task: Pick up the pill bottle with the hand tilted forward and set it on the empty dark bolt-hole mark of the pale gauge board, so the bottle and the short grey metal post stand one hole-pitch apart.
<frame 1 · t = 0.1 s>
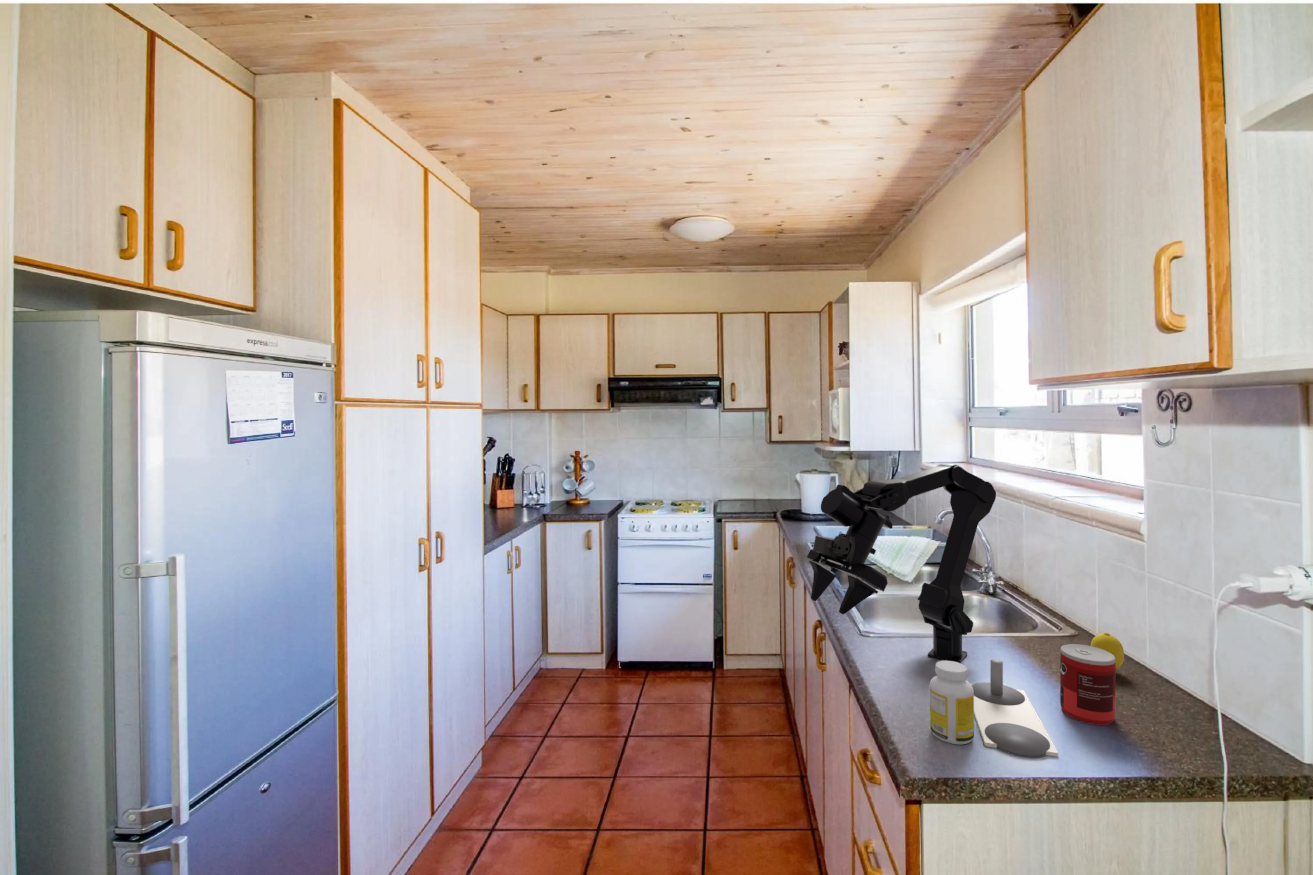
hand: (826, 606, 119), 15 cm above the countertop, tool tilted 35°, fingers open, 9 cm apart
gauge board: (1005, 717, 104), on the countertop
canned food: (1086, 715, 105), on the countertop
lemon: (1106, 672, 121), on the countertop
pill bottle: (951, 736, 99), on the countertop
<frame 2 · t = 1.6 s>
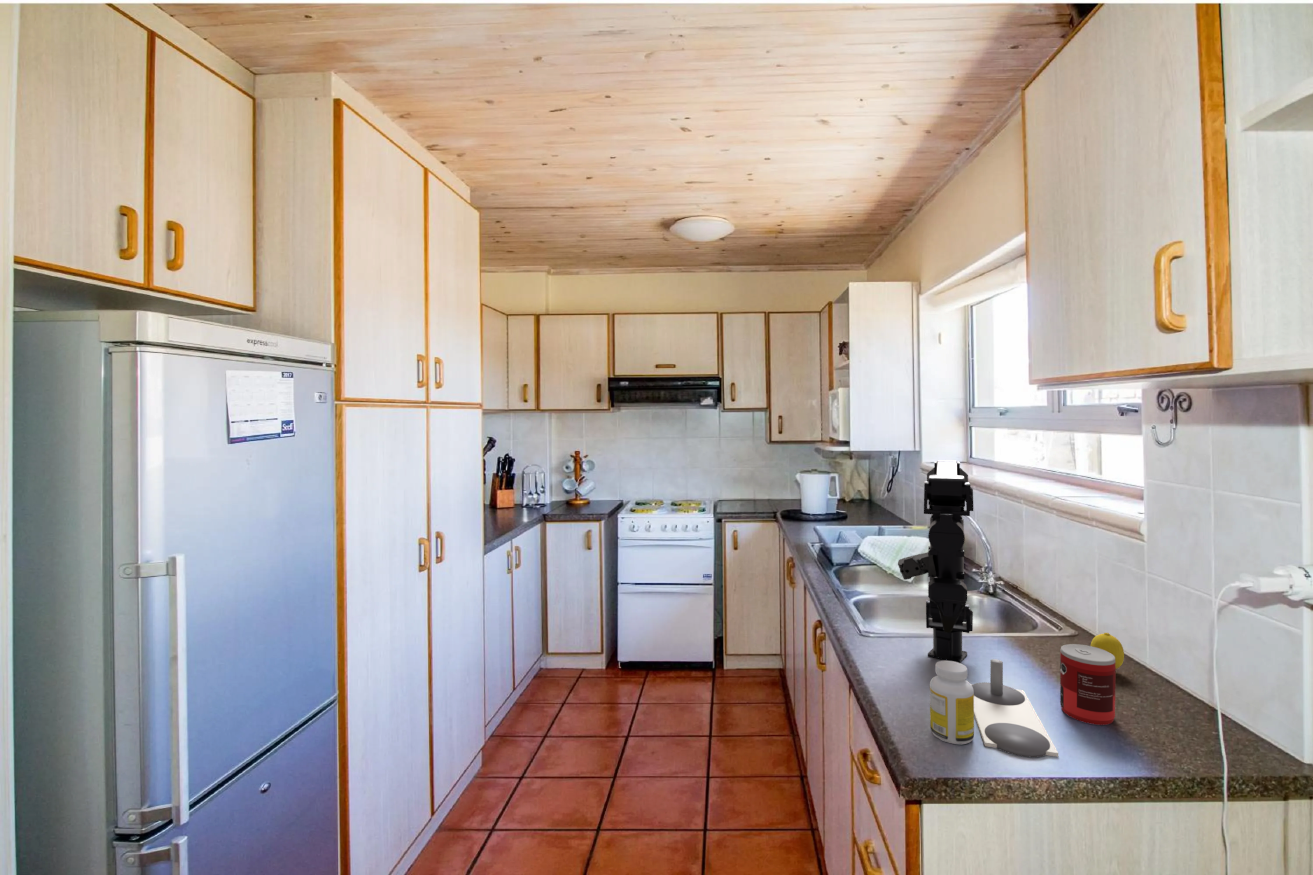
hand: (946, 624, 113), 13 cm above the countertop, tool pointing down, fingers open, 9 cm apart
nothing on the countertop moved.
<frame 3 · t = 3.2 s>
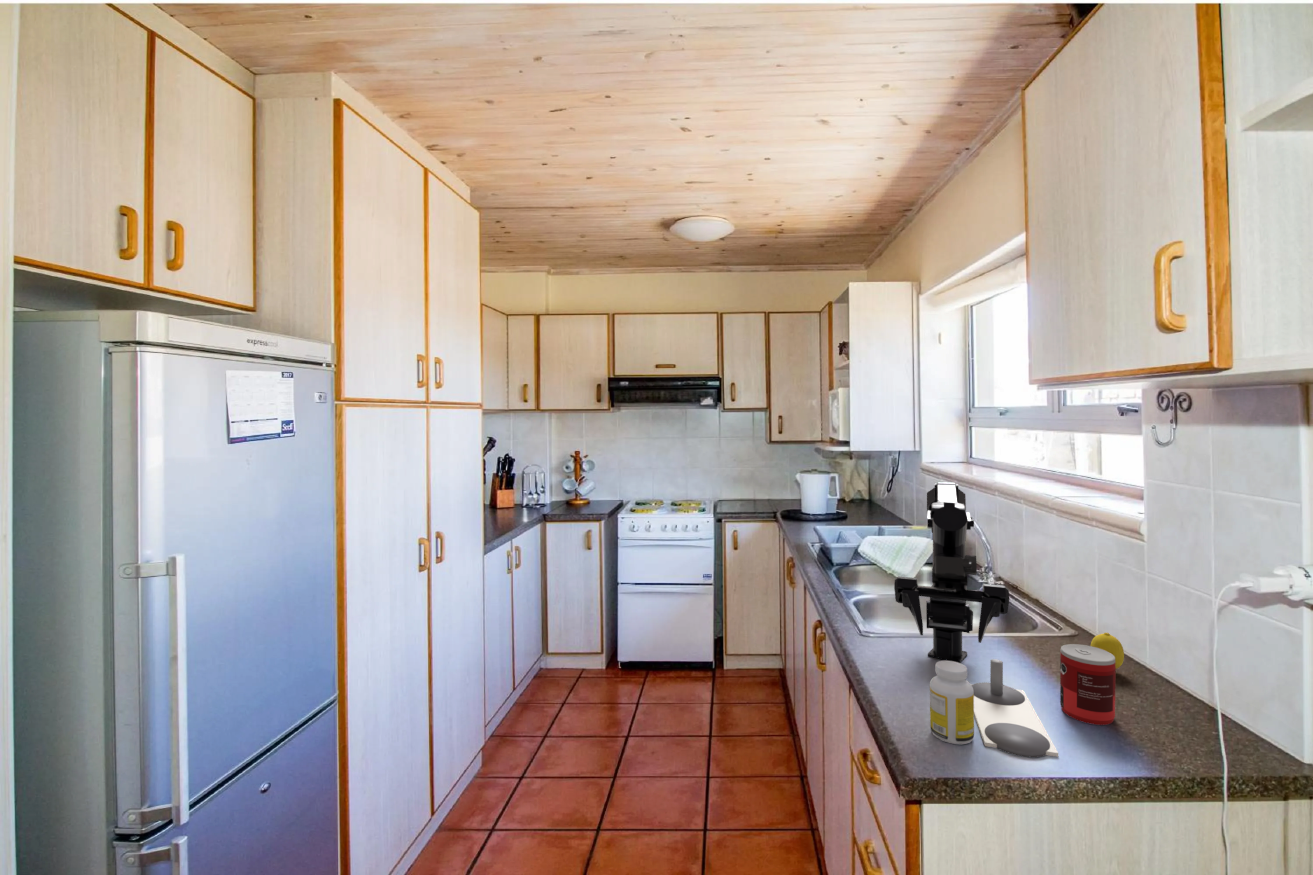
hand: (950, 637, 105), 13 cm above the countertop, tool tilted 45°, fingers open, 9 cm apart
nothing on the countertop moved.
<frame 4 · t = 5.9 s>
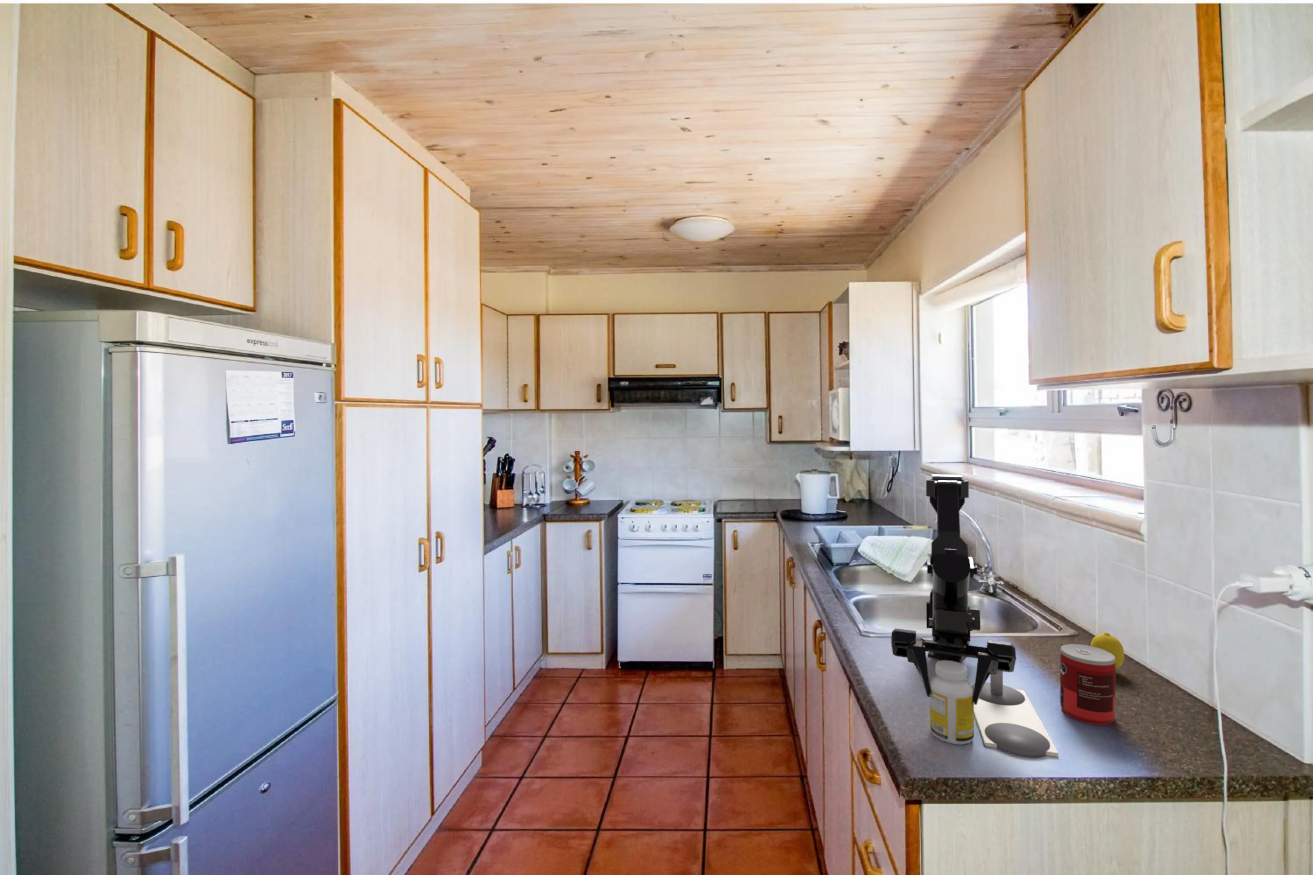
hand: (951, 699, 97), 7 cm above the countertop, tool tilted 45°, fingers closed on pill bottle, 6 cm apart
pill bottle: (951, 736, 99), on the countertop, touching gripper
everything else where it was.
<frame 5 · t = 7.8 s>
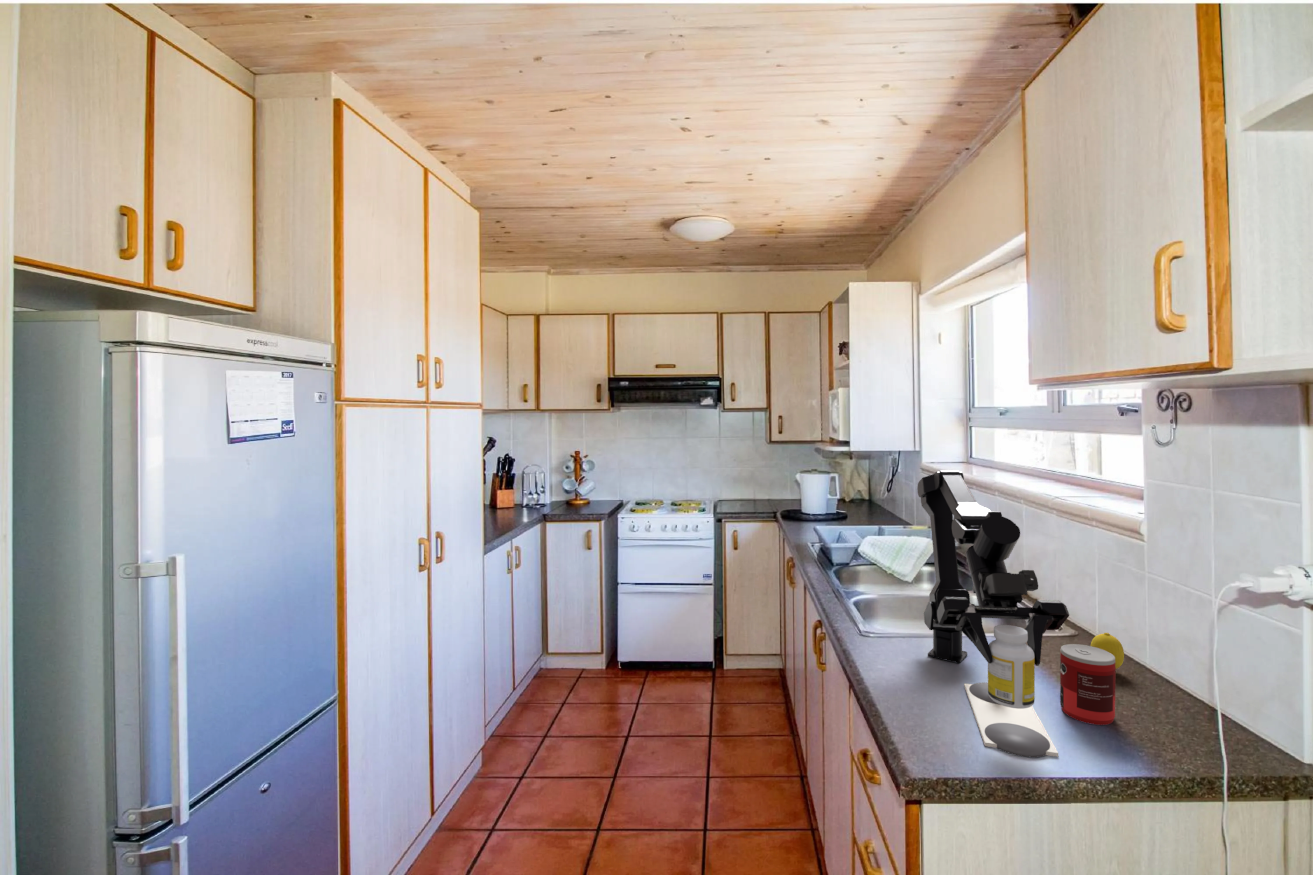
hand: (1014, 663, 95), 13 cm above the countertop, tool tilted 45°, fingers closed on pill bottle, 6 cm apart
pill bottle: (1010, 701, 96), point 6 cm above the countertop, touching gripper
everything else where it was.
when the fingers open (8 cm above the countertop, at t = 9.7 s): pill bottle stays where it is, resting on gauge board.
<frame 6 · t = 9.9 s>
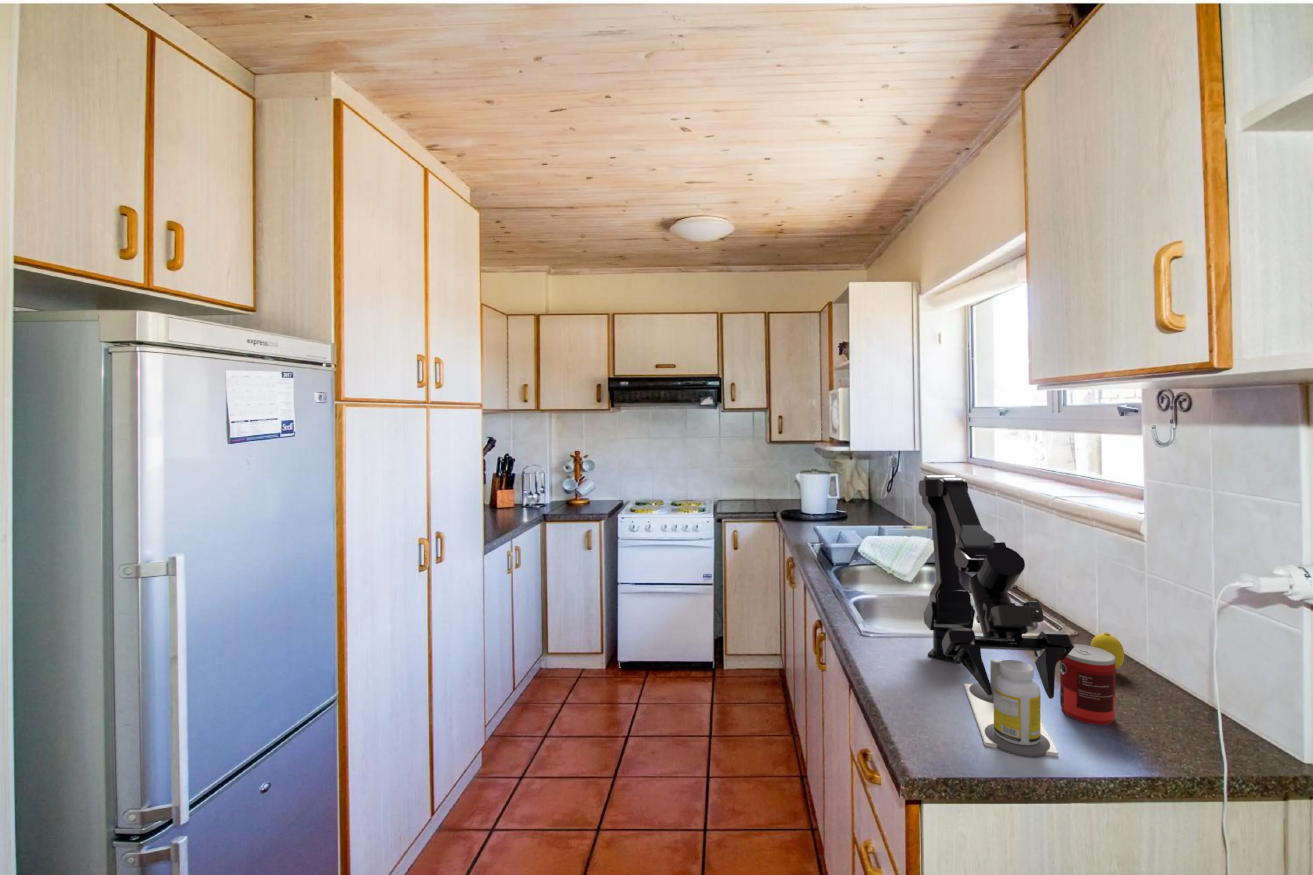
hand: (1020, 696, 95), 8 cm above the countertop, tool tilted 45°, fingers open, 9 cm apart
pill bottle: (1016, 737, 97), point 1 cm above the countertop, touching gauge board
everything else where it was.
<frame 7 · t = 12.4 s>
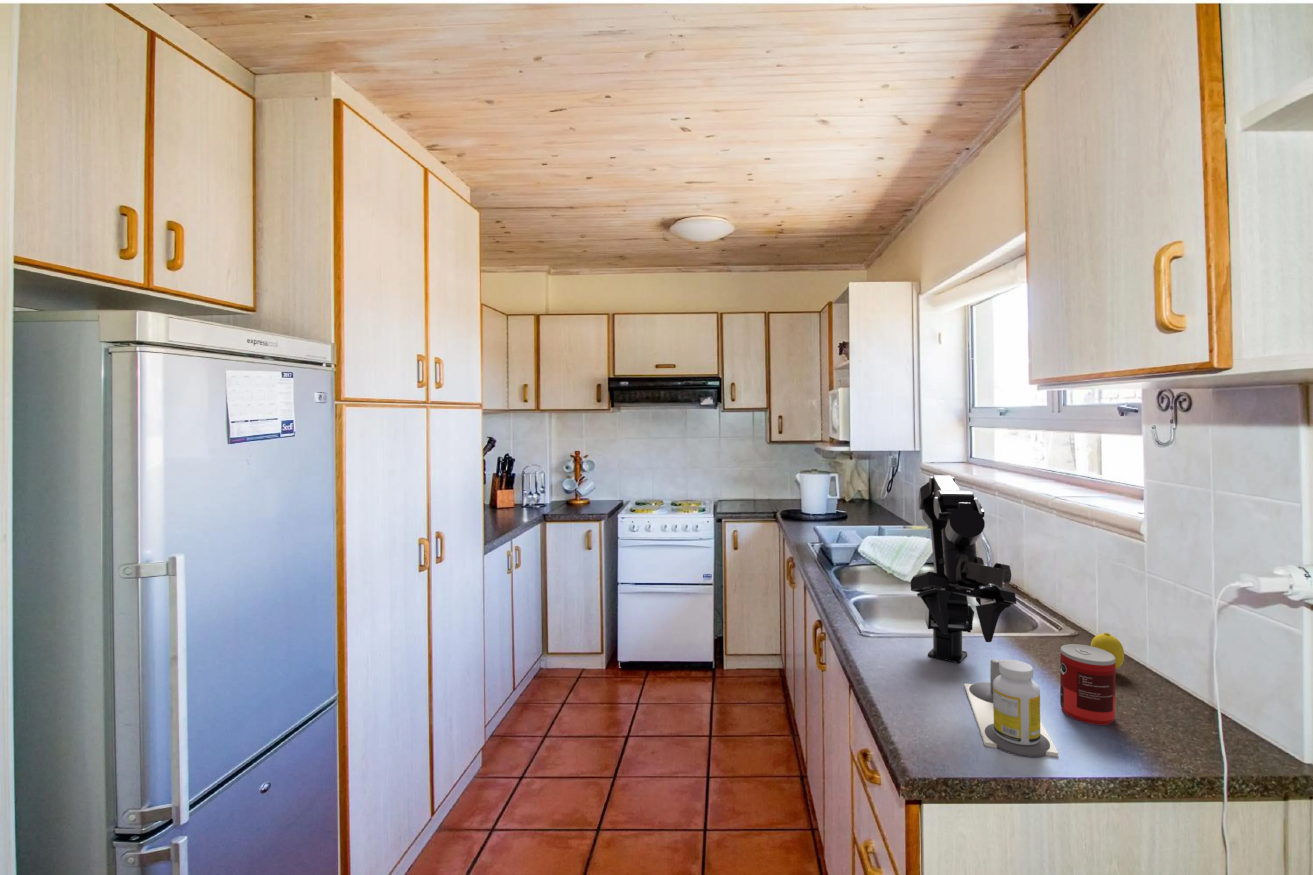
hand: (967, 637, 108), 12 cm above the countertop, tool tilted 30°, fingers open, 9 cm apart
nothing on the countertop moved.
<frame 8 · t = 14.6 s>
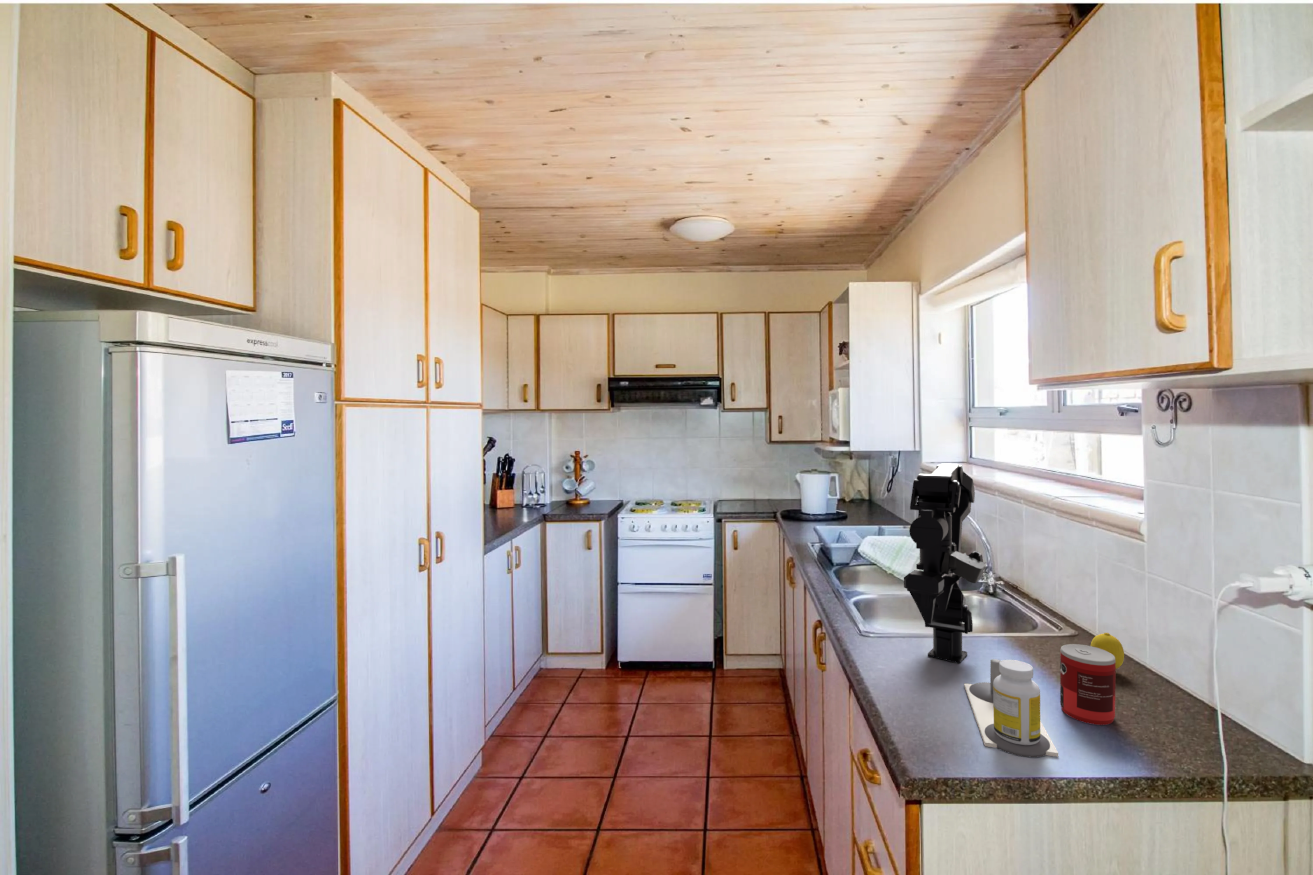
hand: (935, 616, 118), 13 cm above the countertop, tool pointing down, fingers open, 9 cm apart
nothing on the countertop moved.
at the end: pill bottle inside the target area (0.2 cm from its centre), point 0.5 cm above the countertop; pill bottle tilted 0°; the gripper is holding nothing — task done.
